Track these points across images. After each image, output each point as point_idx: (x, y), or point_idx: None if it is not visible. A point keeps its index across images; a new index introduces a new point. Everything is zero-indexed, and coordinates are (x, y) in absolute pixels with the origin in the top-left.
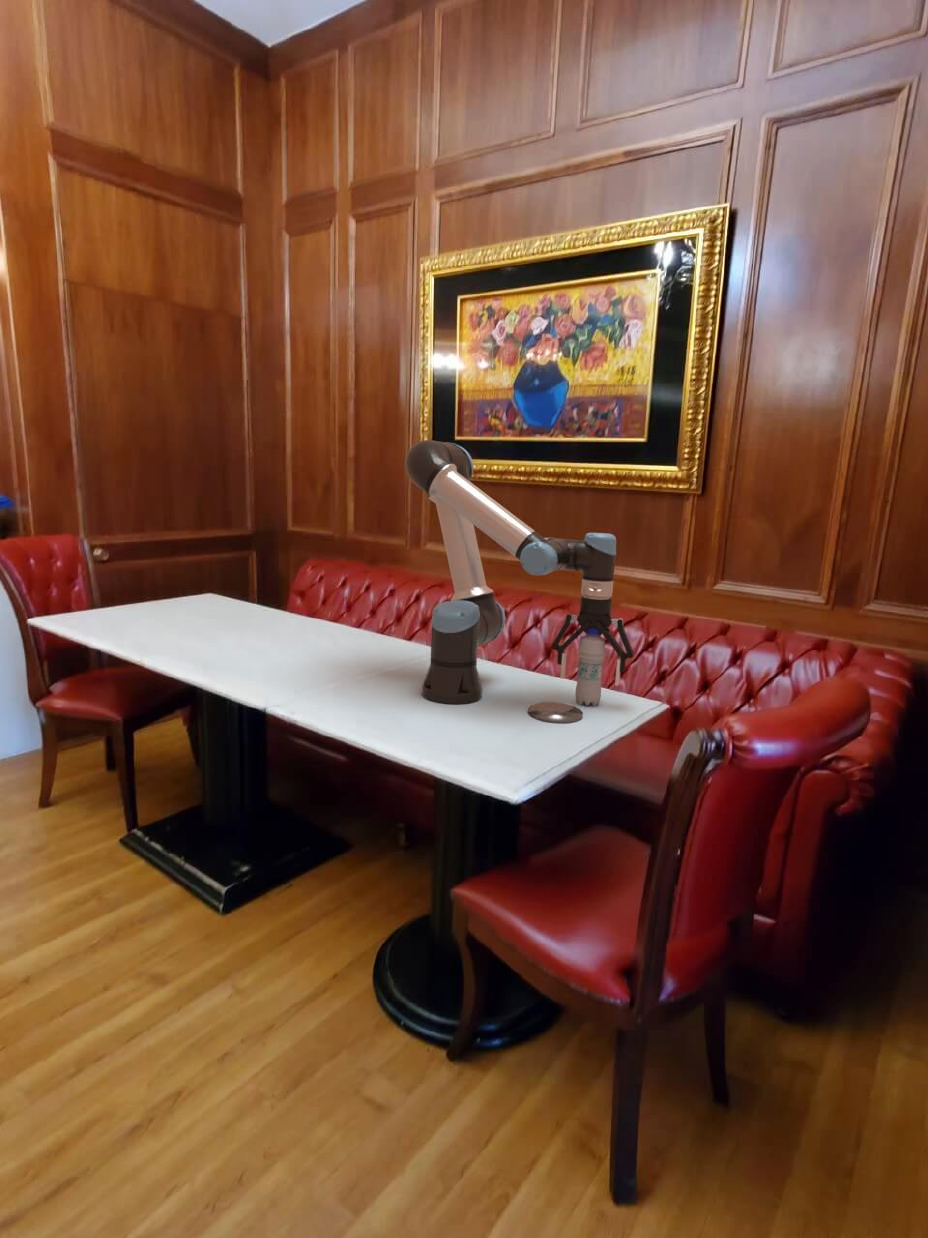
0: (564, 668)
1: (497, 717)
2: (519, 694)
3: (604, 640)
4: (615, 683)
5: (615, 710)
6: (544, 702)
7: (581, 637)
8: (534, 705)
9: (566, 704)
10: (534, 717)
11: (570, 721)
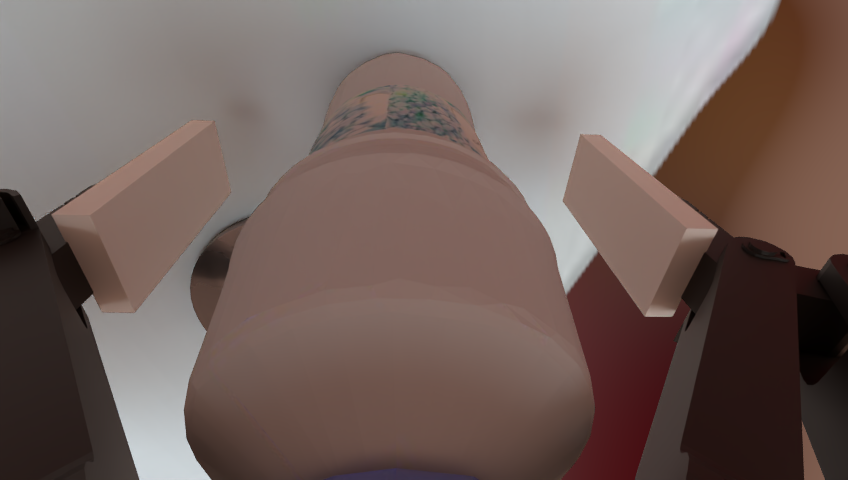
0: (197, 208)
1: (152, 383)
2: (27, 111)
3: (584, 446)
4: (568, 207)
5: (534, 168)
6: (222, 238)
7: (197, 458)
8: (204, 286)
9: None
10: None
11: None
